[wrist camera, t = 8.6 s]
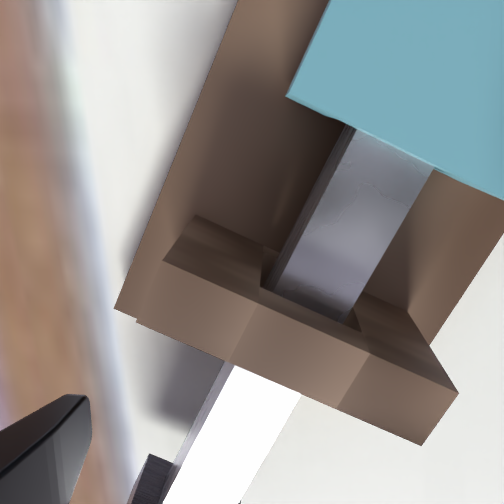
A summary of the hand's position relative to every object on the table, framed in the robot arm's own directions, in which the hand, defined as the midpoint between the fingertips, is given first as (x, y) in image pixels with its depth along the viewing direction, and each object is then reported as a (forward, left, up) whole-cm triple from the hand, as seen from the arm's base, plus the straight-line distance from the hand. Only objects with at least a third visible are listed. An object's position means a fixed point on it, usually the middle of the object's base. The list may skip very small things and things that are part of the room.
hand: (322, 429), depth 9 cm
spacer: (0, -7, -9) cm, 12 cm away
